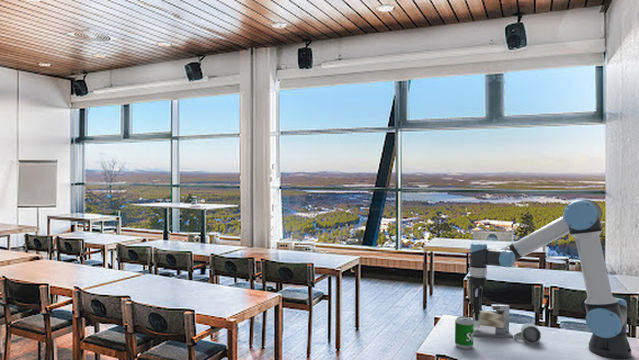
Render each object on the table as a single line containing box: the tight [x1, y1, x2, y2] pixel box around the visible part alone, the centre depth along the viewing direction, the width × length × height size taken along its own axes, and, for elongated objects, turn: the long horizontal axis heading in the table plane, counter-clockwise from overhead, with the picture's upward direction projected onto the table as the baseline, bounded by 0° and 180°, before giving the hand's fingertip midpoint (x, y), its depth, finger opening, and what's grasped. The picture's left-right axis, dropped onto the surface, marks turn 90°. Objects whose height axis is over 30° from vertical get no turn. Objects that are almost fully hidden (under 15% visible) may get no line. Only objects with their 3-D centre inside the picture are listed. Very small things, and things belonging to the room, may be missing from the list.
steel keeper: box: [490, 304, 510, 332], centre depth 209 cm, size 2×8×13 cm, turn 88°
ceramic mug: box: [513, 322, 542, 345], centre depth 200 cm, size 11×8×8 cm
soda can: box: [454, 316, 474, 350], centre depth 191 cm, size 8×8×12 cm
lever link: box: [472, 309, 505, 328], centre depth 207 cm, size 14×4×8 cm, turn 68°
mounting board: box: [474, 325, 514, 339], centre depth 211 cm, size 15×18×4 cm
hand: (477, 325), depth 209 cm, fingers open, 3 cm apart
